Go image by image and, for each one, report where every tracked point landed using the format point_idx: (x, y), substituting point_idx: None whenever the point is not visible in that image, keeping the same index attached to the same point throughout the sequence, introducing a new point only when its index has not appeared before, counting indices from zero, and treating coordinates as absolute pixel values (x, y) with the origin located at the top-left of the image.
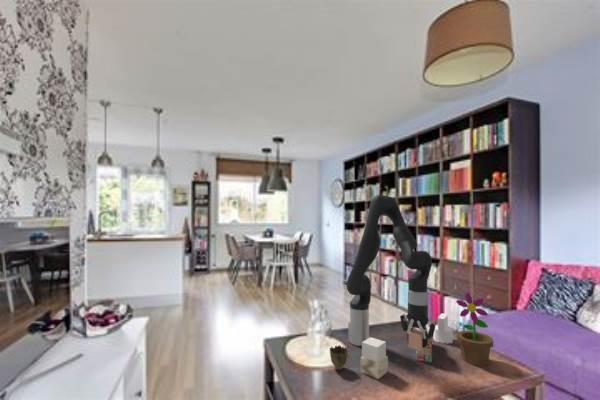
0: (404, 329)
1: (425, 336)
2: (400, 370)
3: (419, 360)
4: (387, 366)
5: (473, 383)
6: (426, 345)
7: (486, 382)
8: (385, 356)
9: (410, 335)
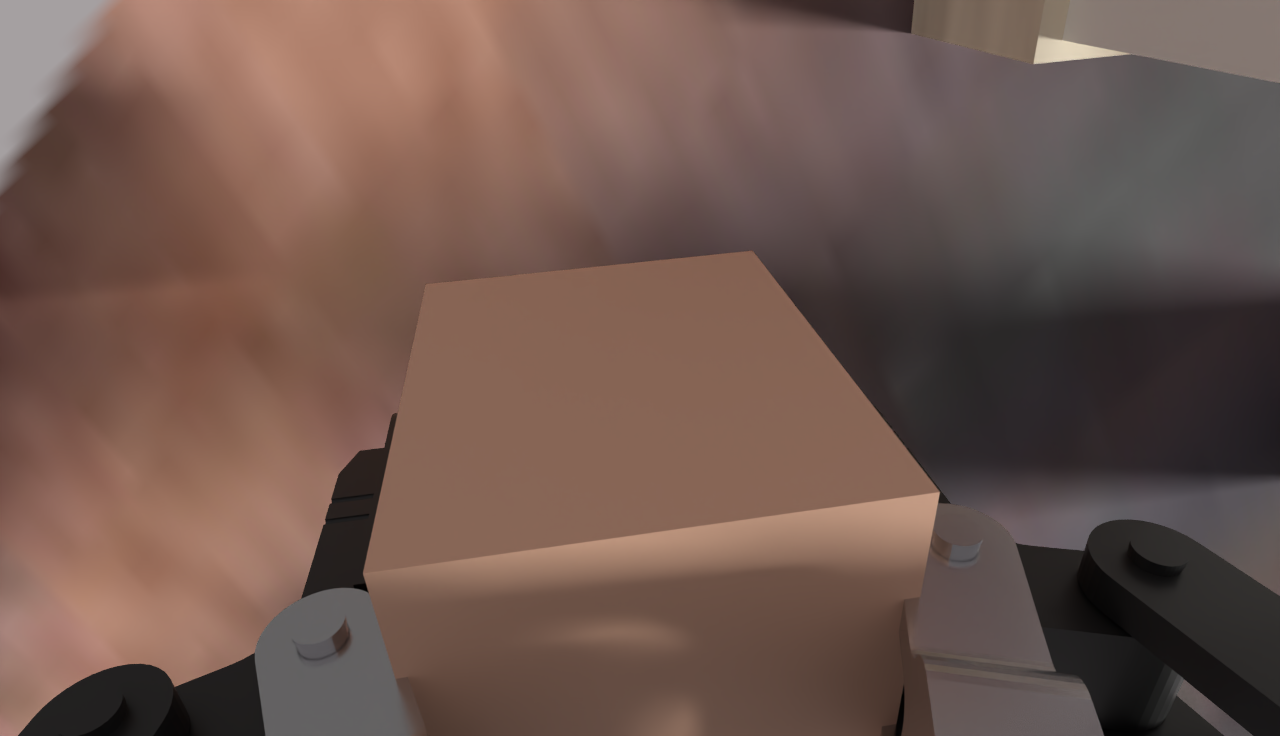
0: (1139, 558)
1: (265, 670)
2: (791, 187)
3: None
4: (949, 31)
5: (83, 548)
6: (343, 488)
7: (31, 649)
8: (1071, 22)
9: (810, 431)
